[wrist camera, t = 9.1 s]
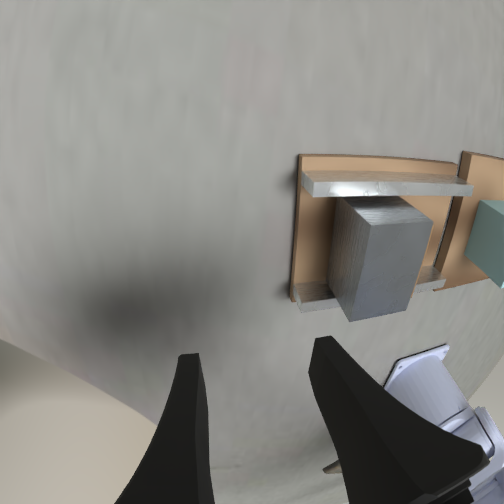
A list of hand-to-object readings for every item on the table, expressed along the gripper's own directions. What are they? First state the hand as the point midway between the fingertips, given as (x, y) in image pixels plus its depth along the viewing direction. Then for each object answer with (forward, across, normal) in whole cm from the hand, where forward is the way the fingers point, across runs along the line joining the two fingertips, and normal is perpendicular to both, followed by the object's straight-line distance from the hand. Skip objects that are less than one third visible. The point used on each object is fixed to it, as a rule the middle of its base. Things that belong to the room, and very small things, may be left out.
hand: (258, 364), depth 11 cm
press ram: (+8, -8, 0) cm, 11 cm away
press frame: (+9, -15, 0) cm, 18 cm away
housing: (+8, -22, 0) cm, 23 cm away
